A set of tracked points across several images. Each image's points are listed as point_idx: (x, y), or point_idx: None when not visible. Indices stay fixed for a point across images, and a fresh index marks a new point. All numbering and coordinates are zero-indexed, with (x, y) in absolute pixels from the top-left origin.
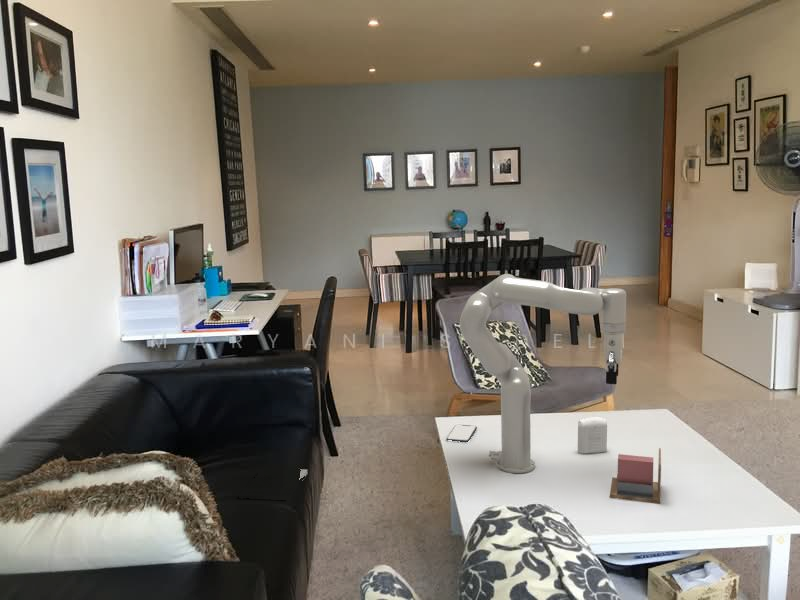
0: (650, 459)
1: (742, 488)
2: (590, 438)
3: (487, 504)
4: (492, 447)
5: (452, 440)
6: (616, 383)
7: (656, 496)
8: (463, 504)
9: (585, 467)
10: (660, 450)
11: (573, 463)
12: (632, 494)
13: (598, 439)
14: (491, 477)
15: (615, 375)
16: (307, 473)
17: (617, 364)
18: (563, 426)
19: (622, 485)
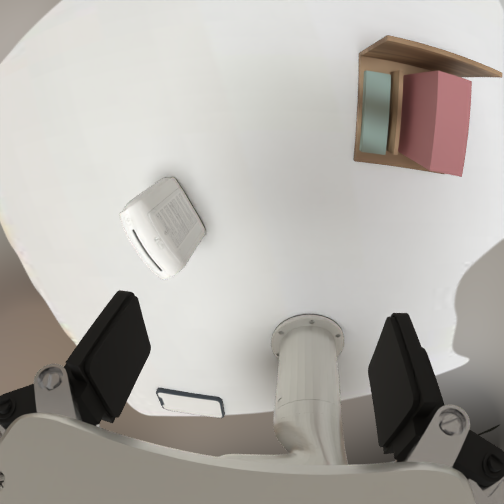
0: (454, 83)
1: None
2: (185, 228)
3: (450, 350)
4: (227, 373)
5: (223, 412)
6: (407, 314)
7: None
8: (444, 371)
9: (286, 219)
10: (406, 40)
11: (268, 245)
12: None
13: (174, 207)
14: (360, 364)
15: (425, 378)
16: None
17: (81, 371)
18: (75, 270)
19: None
